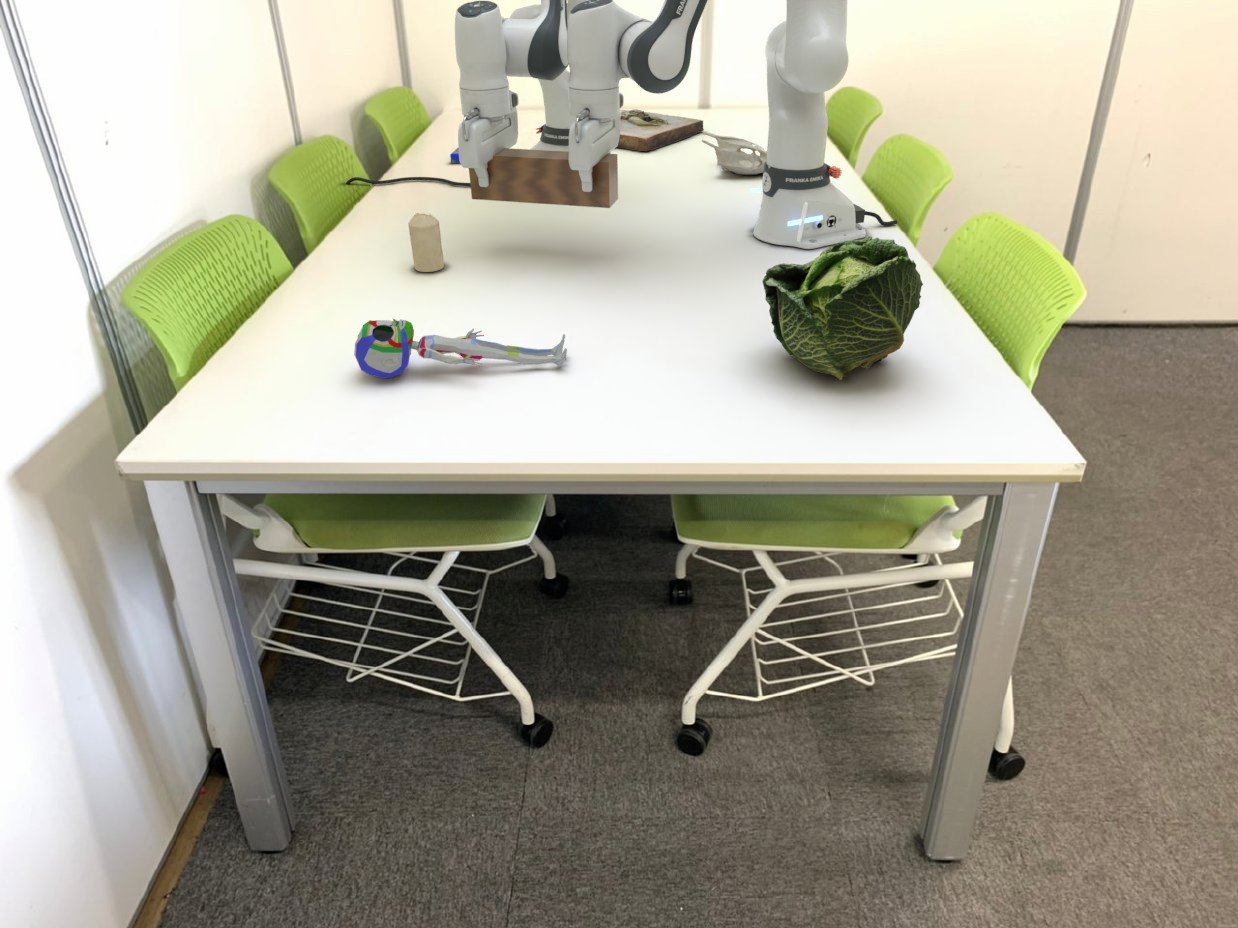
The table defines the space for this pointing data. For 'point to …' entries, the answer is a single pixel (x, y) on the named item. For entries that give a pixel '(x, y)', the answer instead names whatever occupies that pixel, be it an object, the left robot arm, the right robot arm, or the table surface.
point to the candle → (426, 243)
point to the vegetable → (844, 304)
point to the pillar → (455, 156)
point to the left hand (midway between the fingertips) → (492, 180)
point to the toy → (435, 349)
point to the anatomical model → (738, 155)
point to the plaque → (654, 129)
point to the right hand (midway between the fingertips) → (595, 184)
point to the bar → (545, 179)
